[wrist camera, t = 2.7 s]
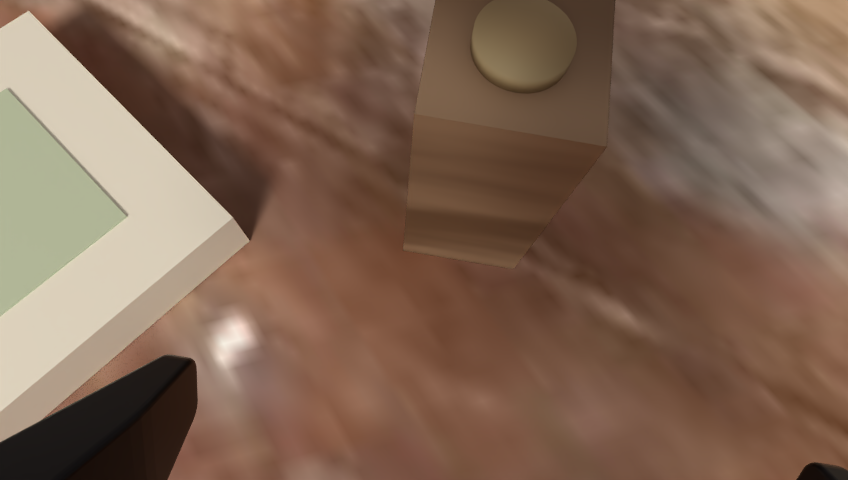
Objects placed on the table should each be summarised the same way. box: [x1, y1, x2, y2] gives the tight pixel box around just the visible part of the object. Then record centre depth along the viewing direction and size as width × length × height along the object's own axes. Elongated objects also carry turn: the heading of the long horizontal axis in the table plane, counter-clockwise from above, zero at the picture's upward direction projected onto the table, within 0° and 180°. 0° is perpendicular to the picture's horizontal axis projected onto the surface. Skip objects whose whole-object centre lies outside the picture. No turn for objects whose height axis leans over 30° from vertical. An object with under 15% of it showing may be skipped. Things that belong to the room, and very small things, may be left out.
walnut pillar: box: [403, 0, 615, 269], centre depth 18 cm, size 4×4×10 cm
